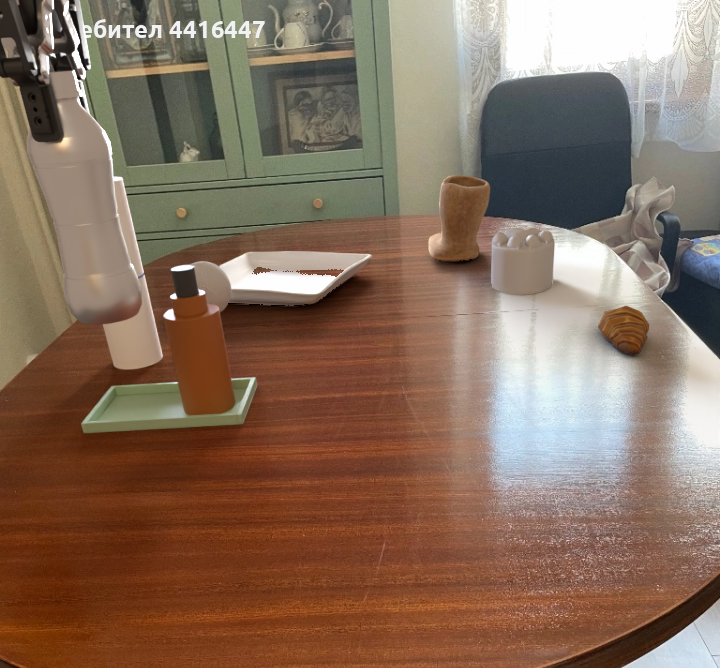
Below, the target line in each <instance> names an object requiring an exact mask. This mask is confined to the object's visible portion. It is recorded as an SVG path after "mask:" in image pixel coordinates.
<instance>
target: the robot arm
mask: <svg viewBox="0 0 720 668" xmlns="http://www.w3.org/2000/svg"><path fill="white" fill-rule="evenodd" d="M81 5H82V4H81V0H0V78H1V79H8V78H9V79H10V80H11V83H12V85H13V86H14V87H19V92H20V96H21V100H22V104H23V107H24V111H25V115H26V119H27V123H28V126H29V129H30V130H31V134H32V137H33V139H34V140H35V141H37V142H52V141H58V140H61V139H62V138H63V135H64V134H63V130H62V125H61V121H60V117H59V113H58V109H57V105H56V101H55V97H54V93H53V89H52V86H45V84H49V82H50V77H49V72H60V71H74V72H75V74H76V78H77V82H78V86H79V90H81V93H82V96H80V97H79V101H80V103H81V106H82V107H83V108H84V109H85V110H86V111H87V112H88V113H89V114H90V109H89V104H88V100H87V95H86V92H85V87H84V83H83V81H84V80H85V79H86V72H87V71H91V69H92V68H91V67H92V66H91V65H92V63H91V59H90V53H89V46H88V41H87V35H86V29H85V24H84V17H83V12H82V6H81ZM6 51H7V53H6ZM90 115H91V114H90Z"/></svg>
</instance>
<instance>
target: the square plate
mask: <svg viewBox="0 0 720 668" xmlns="http://www.w3.org/2000/svg"><path fill="white" fill-rule="evenodd" d="M372 258H373V255H372V254H369V253H348V252H347V253H346V252H332V251H331V252H330V251H329V252H328V251H306V250H305V251H301V250H295V251H294V250H292V251H291V250H287V251H286V250H285V251H283V250H281V251H279V250H277V251H249V252H245V253H243V254H242V255H239V256H237V257H235V258H233V259H230V260H228V261H226V262H224V263H223V264H219V265H218V266H219V267H220V268H221V269H222V270H223V271H224V272H225V273H226V275H227V276H228V278H229V281H230V284H231V297H230V301H229V303H245V304H244V305H249V304H260V305H259V306H271V305H285V306H284V307H295V306H294V305H302V306H305V305H304V304H308V305H313V304H316V303H318V302H319V300H320V299H321V300H323V299H324V298H325V297H326V296H328V295H329V294H330V293H332V292H333V291H334V290H335V289H337V288H338V287H340V286H341V285H343V284H344V283H345V282H347V281H348V280H349V279H350V278H352V277H354V276H355V275H356V274H357V273H359V272H361V270H362V269H364V267H365V266H367V264H368V263H369V261H370V260H371V259H372ZM257 267H262V268H266V269H268V268H269V269H271V270H274V271H270V272H266V273H265V272H263V273H261V272H260V273H259V274H258V273H257V275H256V274H254V272H253V271H254V269H256V268H257ZM328 269H329V270H331V269H333V270H334V269H337V270H340V269H341V270H344V271H343V272H342V273H340V274H339V275H338V276H337V277H335V276H331V275H326V274H325V275H323V276H322V275H317V274H313V275H312V274H311V275H308V274H306V273H305V274H306V275H305V274H303V273H302V274H303V275H302V274H300V272H299V273H298V272H296V271H297V270H298V271H300V270H328ZM275 270H277V271H275ZM287 270H288V271H289V272H288V271H287ZM283 271H284V272H283ZM285 271H287V272H285ZM290 271H291V272H290ZM292 271H293V272H292ZM252 273H253V274H252ZM340 284H341V285H340ZM336 287H337V288H336ZM333 289H334V290H333ZM332 290H333V291H332ZM329 292H330V293H329ZM328 293H329V294H328ZM327 294H328V295H327ZM323 297H324V298H323ZM321 300H320V301H321ZM246 303H247V304H246ZM261 304H263V305H261ZM288 305H289V306H288Z"/></svg>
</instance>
